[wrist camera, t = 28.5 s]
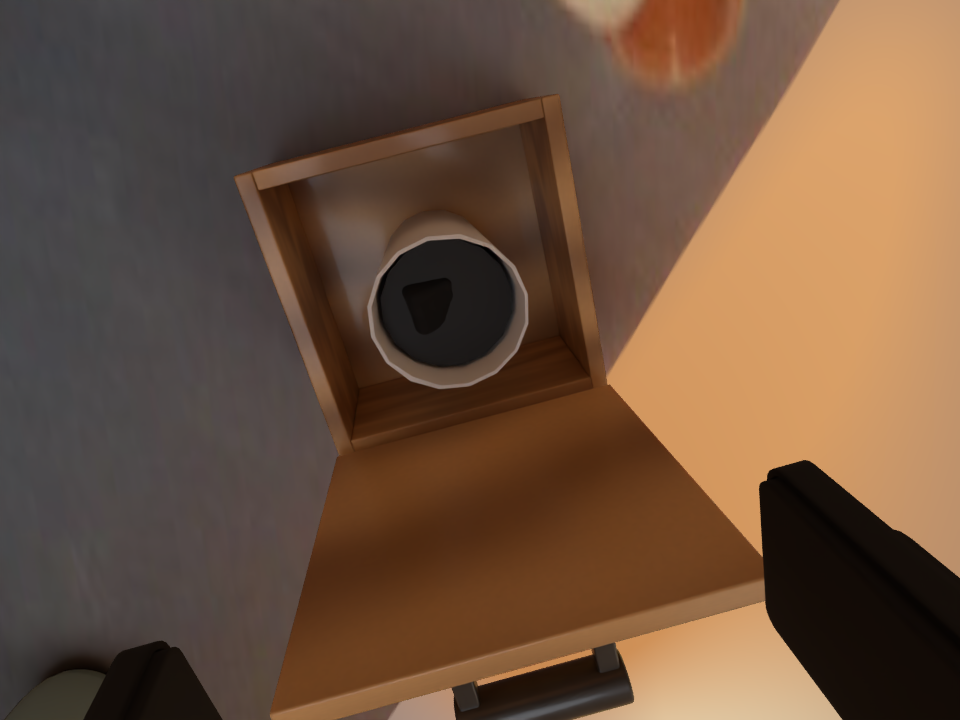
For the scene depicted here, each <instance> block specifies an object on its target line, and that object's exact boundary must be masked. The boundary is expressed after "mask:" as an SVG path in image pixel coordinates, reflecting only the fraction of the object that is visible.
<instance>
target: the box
mask: <svg viewBox="0 0 960 720" xmlns="http://www.w3.org/2000/svg"><path fill="white" fill-rule="evenodd" d="M234 180H235V183H236V185H237V188H238V191H239V193H240V196H241V199H242V201H243V204H244V206H245V209H246V212H247V214H248V217H249V220H250V222H251V225H252V227H253V230H254V233H255V235H256V238H257V241H258V243H259V246H260V249H261V251H262V254H263V256H264V259H265V262H266V264H267V267H268V270H269V272H270V275H271V277H272V280H273V283H274V285H275V288H276V291H277V293H278V296H279V298H280V301H281V304H282V306H283V309H284V312H285V314H286V317H287V319H288V322H289V325H290V327H291V330H292V333H293V335H294V338H295V340H296V343H297V346H298V348H299V351H300V354H301V356H302V359H303V361H304V364H305V367H306V369H307V372H308V375H309V377H310V380H311V383H312V385H313V388H314V390H315V393H316V396H317V398H318V401H319V404H320V406H321V409H322V411H323V414H324V417H325V419H326V422H327V425H328V427H329V430H330V432H331V435H332V438H333V440H334V443H335V446H336V448H337V451H338V453H339V456H342V455H346V454H350V453H354V452H357V451H361V450H365V449H369V448H372V447H376V446H380V445H384V444H387V443H391V442H395V441H399V440H402V439H406V438H410V437H414V436H417V435H421V434H425V433H429V432H432V431H436V430H440V429H444V428H447V427H451V426H455V425H459V424H462V423H466V422H470V421H474V420H477V419H481V418H485V417H489V416H492V415H496V414H500V413H504V412H507V411H511V410H515V409H519V408H522V407H526V406H530V405H534V404H537V403H541V402H545V401H549V400H552V399H556V398H560V397H564V396H567V395H571V394H575V393H579V392H583V391H586V390H590V389H594V388H598V387H601V386H605V385H607V379H606V373H605V367H604V361H603V355H602V349H601V343H600V337H599V331H598V325H597V319H596V313H595V307H594V301H593V295H592V289H591V283H590V277H589V271H588V265H587V259H586V253H585V247H584V241H583V235H582V229H581V223H580V217H579V211H578V205H577V199H576V193H575V187H574V181H573V175H572V169H571V162H570V156H569V150H568V144H567V138H566V132H565V126H564V120H563V114H562V108H561V102H560V96H559V94H553V95H546V96H540V97H534V98H528V99H523V100H519V101H515V102H511V103H507V104H503V105H499V106H495V107H491V108H487V109H483V110H480V111H476V112H472V113H468V114H464V115H460V116H456V117H452V118H448V119H444V120H440V121H436V122H432V123H429V124H425V125H421V126H417V127H413V128H409V129H405V130H401V131H397V132H393V133H389V134H385V135H381V136H377V137H374V138H370V139H366V140H362V141H358V142H354V143H350V144H346V145H342V146H338V147H334V148H330V149H326V150H322V151H319V152H315V153H311V154H307V155H303V156H299V157H295V158H291V159H287V160H283V161H279V162H275V163H271V164H268V165H265V166H262V167H259V168H256V169H254V170H251V171H248V172H245V173H242V174H239V175H236V176H234ZM435 210H445V211H448V212H451V213H454V214H457V215H459V216H462V217H464V218H465V219H466V220H467V221H468V222H469V223H470V224H472V225H473V226H474V227H475V228H476V229H477V230H478V231H479V232H480V233H481V234H482V235H483V236H484V237H485V238H486V239H487V240H489V241H490V242H491V243H492V244H493V245H494V246H495V247H496V248H497V249H498V250H499V251H500V252H501V253H502V254H503V255H504V256H505V257H506V258H507V259H508V260H509V261H510V262H512V263H513V264H514V265H515V267H516V269H517V271H518V273H519V276H520V278H521V280H522V282H523V284H524V287H525V289H526V291H527V293H528V326H527V328H526V331H525V333H524V336H523V338H522V341H521V344H520V346H519V349H518V351H517V352H516V353H515V354H514V356H513V357H512V358H511V359H510V360H509V361H508V362H507V363H506V364H505V365H504V366H503V367H502V368H501V369H500V370H499V371H498V372H497V373H496V374H494V375H492V376H490V377H488V378H486V379H484V380H482V381H480V382H478V383H476V384H473V385H471V386H468V387H457V388H446V389H437V388H434V387H430V386H426V385H423V384H419V383H416V382H412V381H410V380H408V379H407V378H406V377H404V376H403V375H402V374H400V373H399V372H398V371H396V370H395V369H394V368H392V367H391V366H390V365H388V364H387V363H386V361H385V360H384V358H383V356H382V355H381V353H380V351H379V350H378V348H377V346H376V345H375V343H374V341H373V339H372V338H371V332H370V324H369V316H368V308H367V306H368V303H369V299H370V296H371V293H372V289H373V286H374V283H375V279H376V276H377V273H378V271H379V268H380V265H381V263H382V260H383V257H384V255H385V252H386V249H387V246H388V244H389V241H390V238H391V236H392V235H393V234H394V232H395V231H396V230H397V229H398V228H399V226H400V225H401V224H402V223H403V222H404V221H405V220H407V219H409V218H411V217H413V216H415V215H416V214H418V213H420V212H422V211H435Z"/></svg>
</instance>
